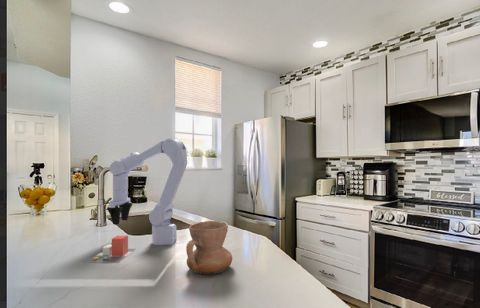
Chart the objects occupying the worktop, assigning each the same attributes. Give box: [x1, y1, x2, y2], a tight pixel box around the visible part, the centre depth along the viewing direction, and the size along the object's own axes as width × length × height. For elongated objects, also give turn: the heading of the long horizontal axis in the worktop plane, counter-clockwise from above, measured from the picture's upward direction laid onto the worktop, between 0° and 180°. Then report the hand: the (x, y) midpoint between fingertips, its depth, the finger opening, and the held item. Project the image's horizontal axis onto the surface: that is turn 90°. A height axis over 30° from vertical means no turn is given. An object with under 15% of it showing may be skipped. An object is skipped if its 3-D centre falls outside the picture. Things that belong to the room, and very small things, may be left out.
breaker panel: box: [82, 248, 137, 264], centre depth 96 cm, size 12×14×2 cm
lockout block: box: [111, 235, 129, 256], centre depth 97 cm, size 4×4×6 cm
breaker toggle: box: [102, 243, 112, 255], centre depth 97 cm, size 2×4×3 cm, turn 178°
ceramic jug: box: [185, 220, 233, 275], centre depth 86 cm, size 18×14×14 cm
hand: (120, 222), depth 113 cm, fingers open, 7 cm apart
